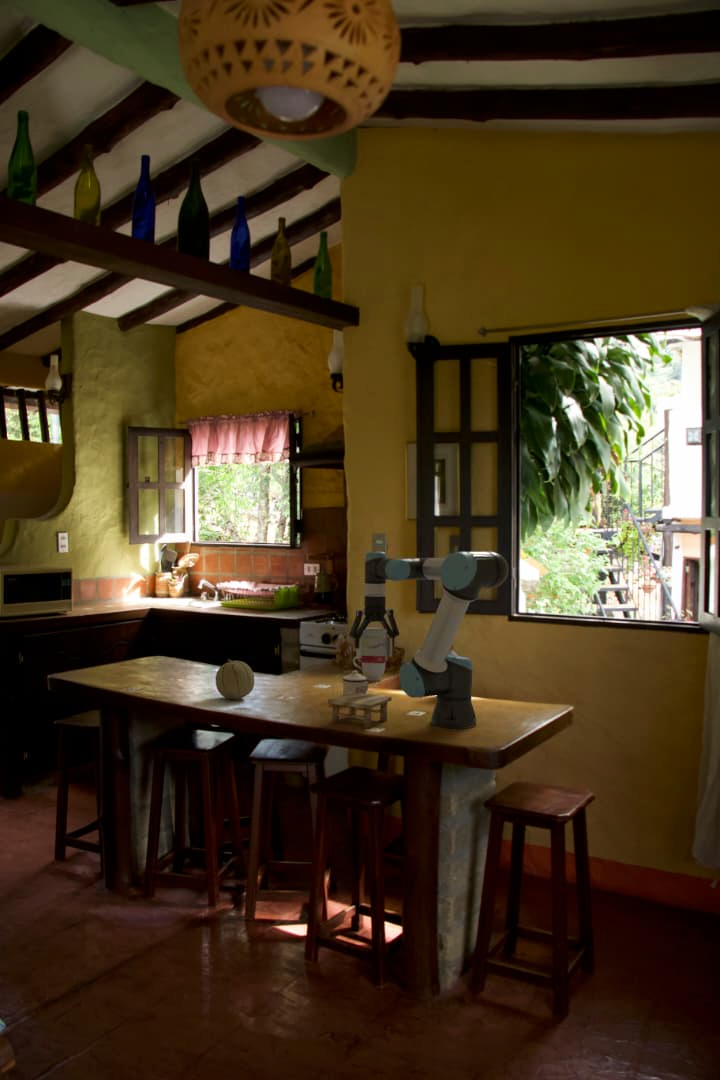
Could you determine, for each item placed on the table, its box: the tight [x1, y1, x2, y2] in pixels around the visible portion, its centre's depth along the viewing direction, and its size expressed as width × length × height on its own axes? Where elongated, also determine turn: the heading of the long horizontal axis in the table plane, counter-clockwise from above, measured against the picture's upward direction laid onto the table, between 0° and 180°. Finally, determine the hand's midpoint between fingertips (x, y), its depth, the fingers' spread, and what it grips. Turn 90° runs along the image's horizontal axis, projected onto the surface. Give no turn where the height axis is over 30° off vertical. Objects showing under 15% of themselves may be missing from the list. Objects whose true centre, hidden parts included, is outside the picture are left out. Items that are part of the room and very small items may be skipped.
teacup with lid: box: [342, 670, 369, 695], centre depth 334 cm, size 12×9×12 cm
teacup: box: [352, 656, 389, 682], centre depth 380 cm, size 12×15×10 cm
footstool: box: [327, 692, 393, 729], centre depth 300 cm, size 16×16×8 cm
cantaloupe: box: [215, 658, 255, 701], centre depth 334 cm, size 15×15×15 cm
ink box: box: [360, 627, 389, 664], centre depth 314 cm, size 9×9×12 cm
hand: (374, 656), depth 314 cm, fingers closed on ink box, 11 cm apart
